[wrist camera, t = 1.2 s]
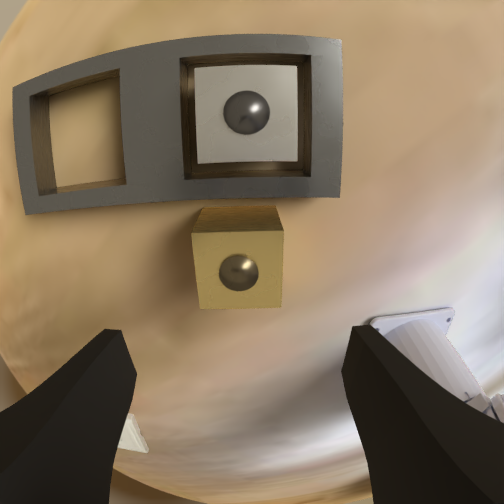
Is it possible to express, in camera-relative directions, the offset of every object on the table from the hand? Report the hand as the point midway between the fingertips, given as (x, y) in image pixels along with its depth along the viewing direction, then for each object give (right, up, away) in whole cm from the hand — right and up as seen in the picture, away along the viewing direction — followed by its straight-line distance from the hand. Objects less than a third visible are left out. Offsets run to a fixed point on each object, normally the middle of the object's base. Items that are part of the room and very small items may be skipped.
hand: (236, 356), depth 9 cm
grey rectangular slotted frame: (-4, +10, +5) cm, 12 cm away
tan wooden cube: (0, +4, +8) cm, 9 cm away
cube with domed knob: (0, +10, +6) cm, 12 cm away
